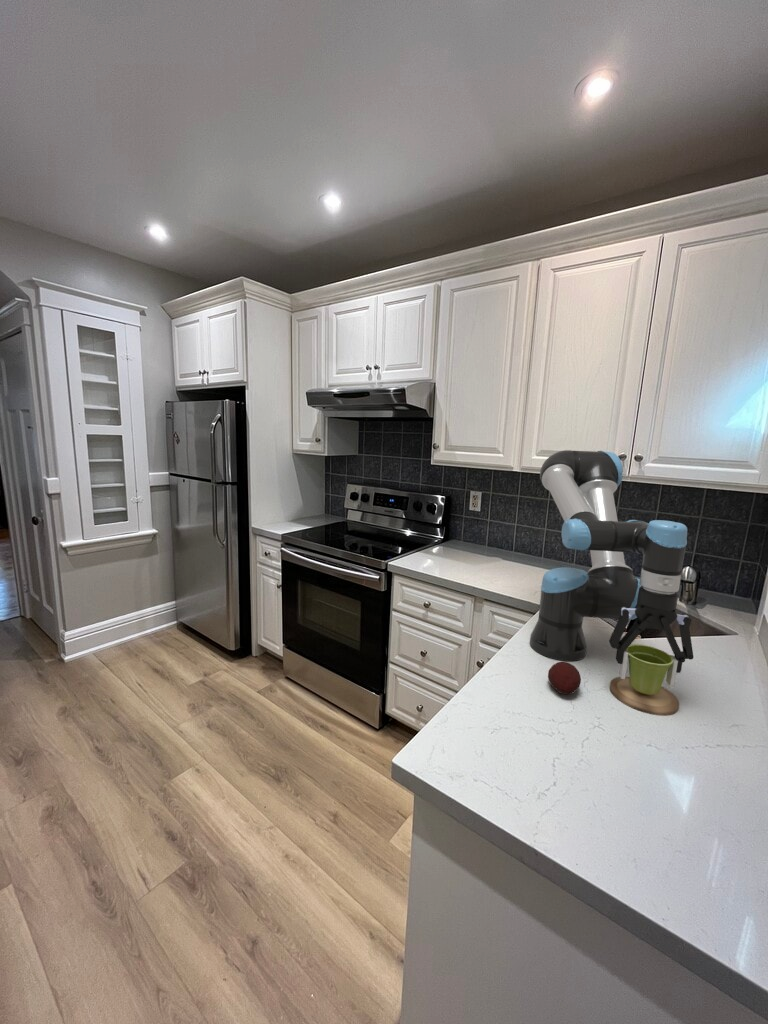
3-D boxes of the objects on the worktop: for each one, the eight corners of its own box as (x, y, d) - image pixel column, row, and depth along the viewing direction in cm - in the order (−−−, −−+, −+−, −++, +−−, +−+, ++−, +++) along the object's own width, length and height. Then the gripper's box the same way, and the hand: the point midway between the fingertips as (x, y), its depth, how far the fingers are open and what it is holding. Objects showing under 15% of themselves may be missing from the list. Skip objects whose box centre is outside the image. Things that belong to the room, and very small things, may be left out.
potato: (576, 681, 105) (579, 658, 104) (582, 704, 96) (585, 679, 95) (545, 675, 108) (548, 653, 107) (548, 697, 98) (550, 673, 97)
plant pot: (668, 705, 93) (674, 668, 92) (620, 690, 98) (625, 656, 96) (667, 685, 101) (672, 651, 99) (622, 673, 106) (626, 640, 104)
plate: (617, 707, 95) (618, 703, 95) (603, 675, 108) (604, 671, 108) (689, 720, 91) (689, 716, 91) (665, 686, 105) (666, 681, 104)
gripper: (608, 588, 95) (597, 679, 98) (723, 601, 89) (707, 698, 93) (601, 578, 102) (591, 664, 106) (707, 589, 96) (692, 680, 100)
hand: (645, 679), depth 99 cm, fingers closed on plant pot, 9 cm apart
